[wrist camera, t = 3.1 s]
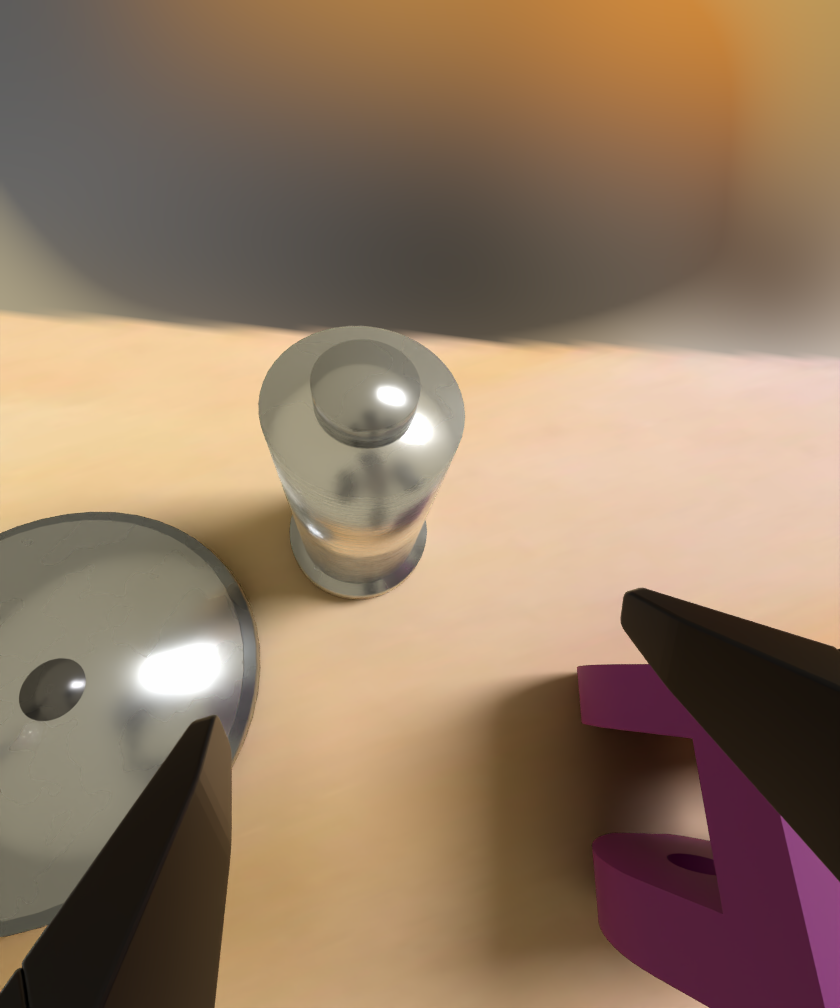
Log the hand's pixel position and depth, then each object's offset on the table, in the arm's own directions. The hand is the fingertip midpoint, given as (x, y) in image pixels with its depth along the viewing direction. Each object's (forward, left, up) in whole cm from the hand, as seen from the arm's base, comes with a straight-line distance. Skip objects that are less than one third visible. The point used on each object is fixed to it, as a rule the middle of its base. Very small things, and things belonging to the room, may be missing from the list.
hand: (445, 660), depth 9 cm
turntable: (-14, +1, -13) cm, 19 cm away
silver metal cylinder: (-1, +7, -13) cm, 15 cm away
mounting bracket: (+17, -7, -14) cm, 23 cm away
